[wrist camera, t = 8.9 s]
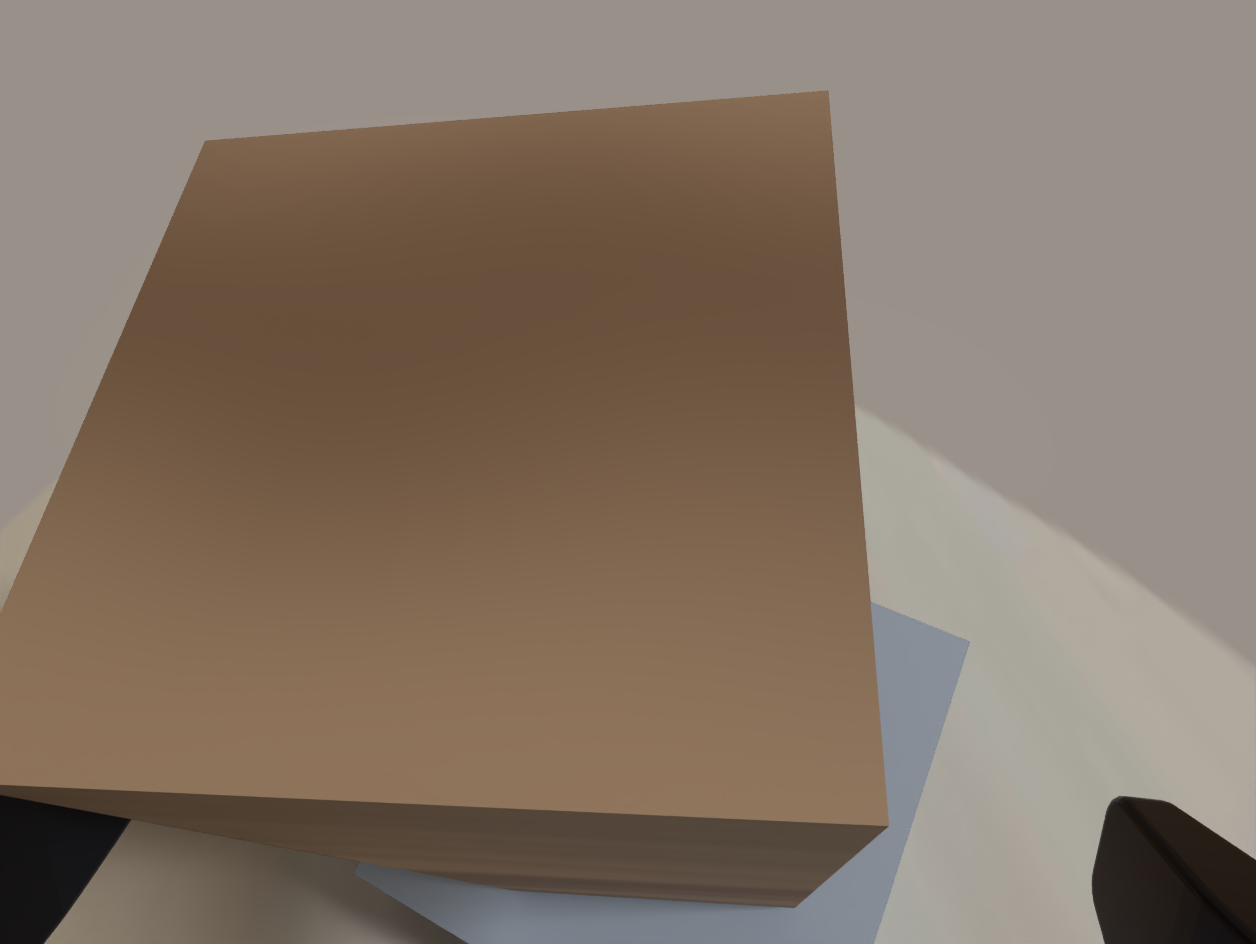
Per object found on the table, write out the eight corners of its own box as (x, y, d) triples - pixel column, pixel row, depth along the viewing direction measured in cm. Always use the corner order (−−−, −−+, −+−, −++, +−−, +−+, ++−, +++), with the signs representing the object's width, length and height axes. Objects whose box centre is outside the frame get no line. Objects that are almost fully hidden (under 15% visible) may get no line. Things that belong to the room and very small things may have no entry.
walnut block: (794, 908, 15) (890, 825, 4) (516, 890, 15) (-73, 782, 5) (785, 630, 17) (827, 90, 6) (545, 626, 18) (205, 140, 7)
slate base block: (794, 1110, 16) (808, 1149, 13) (406, 879, 18) (352, 873, 16) (936, 678, 19) (969, 641, 17) (591, 534, 22) (573, 482, 19)
